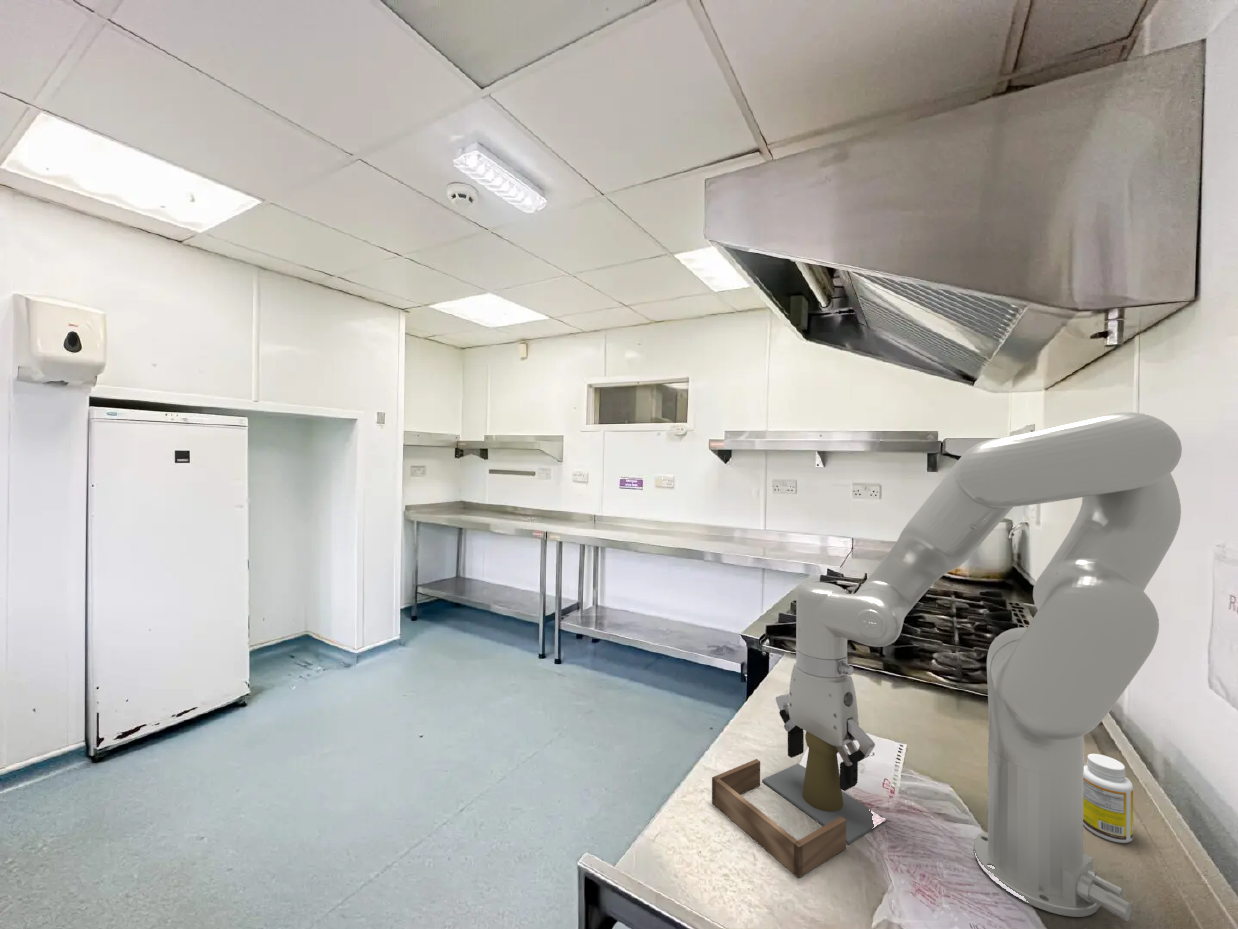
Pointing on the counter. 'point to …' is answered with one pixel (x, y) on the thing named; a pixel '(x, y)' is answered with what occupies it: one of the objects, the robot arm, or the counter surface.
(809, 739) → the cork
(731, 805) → the wooden u-shaped frame
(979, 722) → the counter surface
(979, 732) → the counter surface
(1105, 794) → the supplement bottle
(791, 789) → the charcoal mat
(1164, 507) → the robot arm
